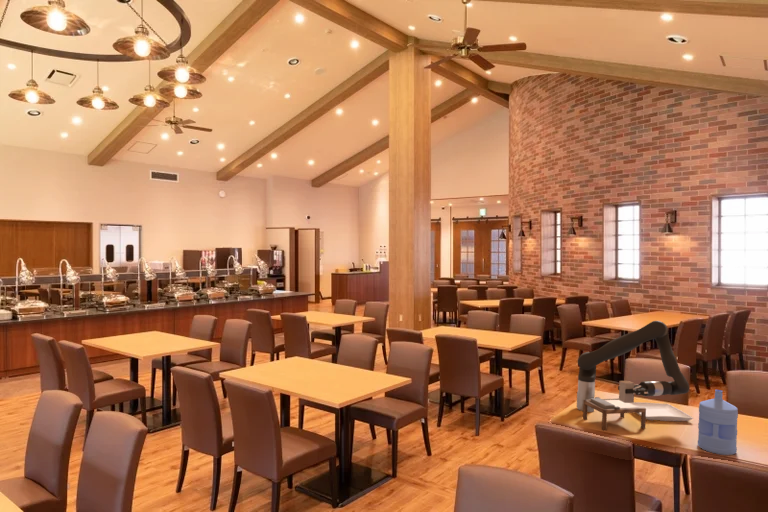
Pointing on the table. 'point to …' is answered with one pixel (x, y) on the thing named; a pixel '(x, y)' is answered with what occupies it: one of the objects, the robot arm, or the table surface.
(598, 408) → the frame
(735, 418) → the water jug
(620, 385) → the granite block
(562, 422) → the table surface
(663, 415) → the square plate
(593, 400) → the trapdoor
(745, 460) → the table surface
